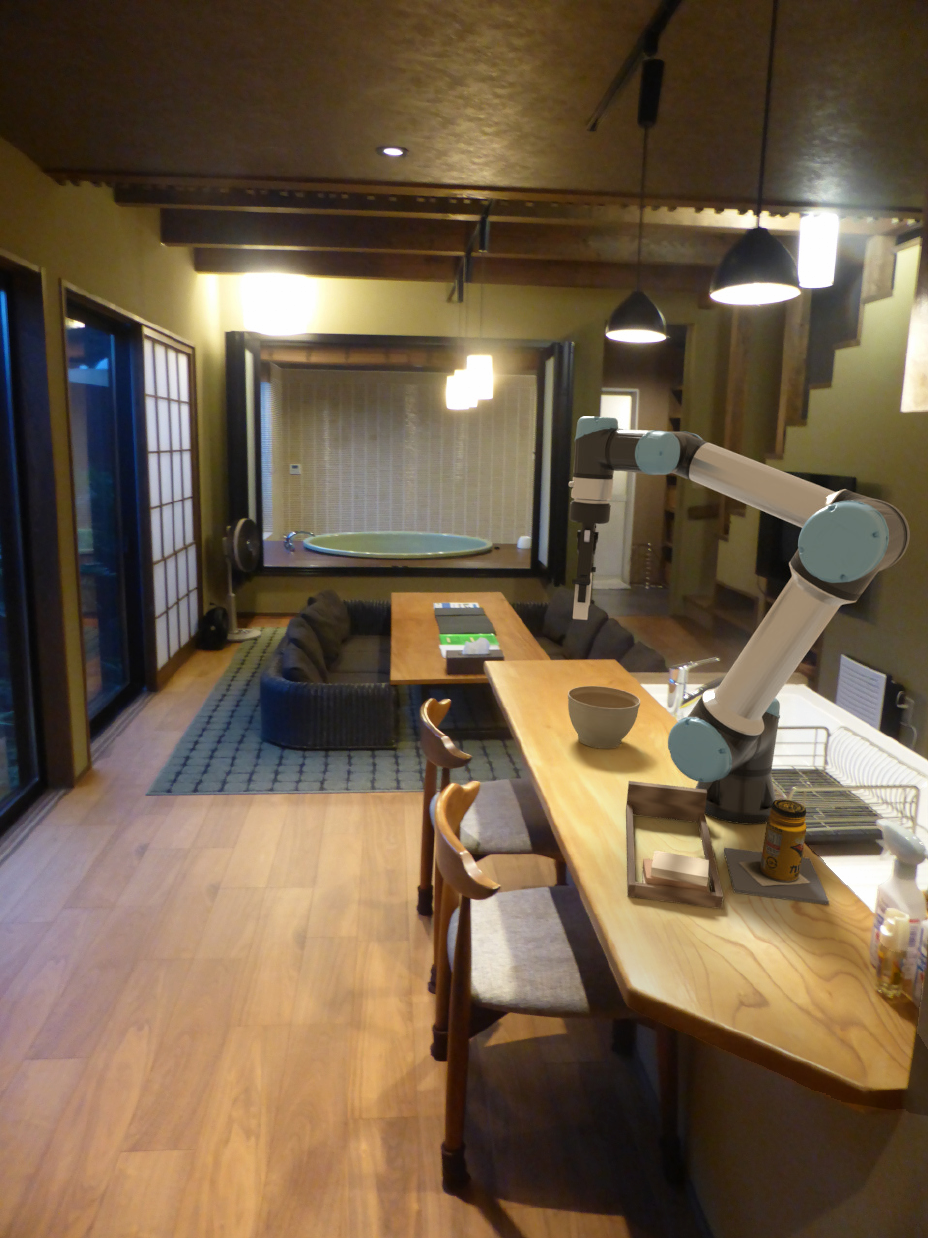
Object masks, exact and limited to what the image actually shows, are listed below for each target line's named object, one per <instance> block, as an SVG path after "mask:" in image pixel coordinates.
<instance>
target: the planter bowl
mask: <svg viewBox="0 0 928 1238" xmlns="http://www.w3.org/2000/svg"><path fill="white" fill-rule="evenodd" d="M567 699H568V701H567V702H568V703H567V704H568V705H567V706H568V709H567V710H568V715H569V719H570V722H571V725H572V727H573V729H574V731H575V733H577V739H578V741H579V742H580V743H581V744H583V745H585V746H587V747H590V748H595V749H606V750H607V749H613V748H614V749H615V748H617V747H619V746H620V745H621V743H622V740H623V739H625V737H626V736H628V734H629V733H630V731H631V730H632V729H633V727H634V725H635V722H636V720H637V717H638V714H639V708H640V706H641V699H640V698H639V697H638V696H637V695H635V694H634V693H632V692H629V691H626V690H622V689H619V688H614V687H609V686H604V685H603V686H600V685H583V686H577V687H574V688H572V689H569V690H568V692H567Z"/></svg>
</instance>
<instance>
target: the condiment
mask: <svg viewBox="0 0 928 1238" xmlns="http://www.w3.org/2000/svg"><path fill="white" fill-rule="evenodd" d="M806 815H807V808H806V807H805V806H804V805H803V804H801V803H800V802H797V801H795V800H790V799H782V798H780V799H776V800H775V801H774V802H773V803H772V805H771V811H770V815H769V816H768V818H767V821H766V822H765V830H764V836H763V845H762V850H761V852H762V857H761V862H760V861H756V862H739V863H740V864H741V865H742V867H743V868H744V869H745V870H746V871H747V872H748V873H749V874H750V875H751V876H752V877H753V878H754V879H756V881H757V882H759V883H760V884H761V885H762V886H767V885H769V886H771V885H791V884H802V883H804V884H805V883H810V882H809V881H808V880H807V879H806V878H805V877H803V876H802V875H801V874H800V867H801V860H802V857H803V853H804V846H805V839H806V833H807V824H806Z"/></svg>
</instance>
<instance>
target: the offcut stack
mask: <svg viewBox="0 0 928 1238" xmlns="http://www.w3.org/2000/svg"><path fill="white" fill-rule="evenodd" d="M708 868H709V860H706V859H705V858H699V857H694V856H688V855H683V854H678V853H671V852H665V851H662V850H661V851H659V850H654V853H653V857H652V859H651V858H642V873H641V875H642V876H641V877H642V883H647V884H655V885H663V886H670V887H678V888H685V889H693V890H701V891H708V892H711V891H710V890H711V888H710V882H709V876H708Z"/></svg>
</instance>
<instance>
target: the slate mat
mask: <svg viewBox="0 0 928 1238" xmlns="http://www.w3.org/2000/svg"><path fill="white" fill-rule="evenodd" d="M723 852H724V857H725V856H726V857H725V860H726V859H727V861H726V865H727V864H728V865H727V869H728V868H729V869H728V872H729V876H730V881H731V884H732V888H733V889H732V890H733V892H734V893H735V894H744V895H752V896H759V897H767V898H772V899H773V898H774V899H780V900H781V899H783V900H790V901H798V902H804V903H814V904H820V905H826V906H827V905H828V906H829V905H830V904H829V903H830V900H829V898H828V896H827V892H826V891H825V889H824V887H823V885H822V882H821V880H820V878H819V876H818V874H817V871H816V869H815V867H814V864H813V862H812V860H811V857H805V856H802V860H801V867H800V874H801V875H802V876H803V877H805V878H806V879H807V880H808V881H809V882H810V883H805V884H804V883H802V884H791V885H771V886H769V885H767V886H762V885H761V884H760V883H759V882H757V881H756V879H754V878H753V877H752V876H751V875H750V874H749V873H748V872H747V871H746V870H745V869H744V868H743V867H742V865H741V864H740V863H739V862H756V861H760V862H761V857H762V851H757V850H748V849H740V848H732V847H726V846H725V847H724V848H723Z"/></svg>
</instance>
